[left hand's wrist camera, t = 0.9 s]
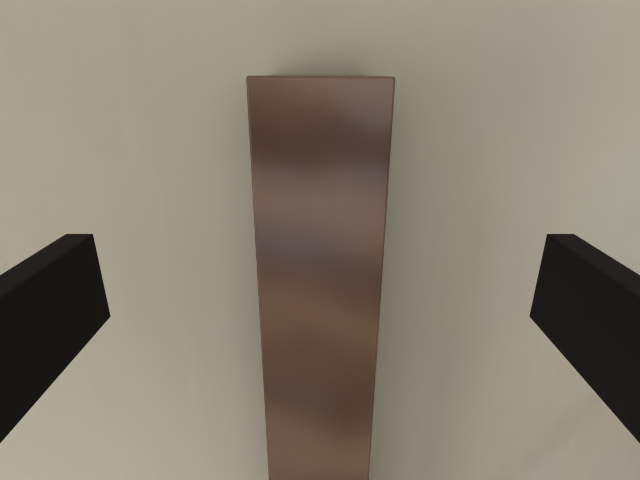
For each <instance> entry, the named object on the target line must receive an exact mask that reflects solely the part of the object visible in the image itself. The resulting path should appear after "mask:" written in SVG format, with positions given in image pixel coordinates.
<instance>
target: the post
mask: <svg viewBox="0 0 640 480" xmlns="http://www.w3.org/2000/svg"><path fill="white" fill-rule="evenodd" d="M246 82H247V100H248V118H249V135H250V153H251V171H252V188H253V206H254V224H255V241H256V259H257V276H258V294H259V312H260V329H261V347H262V365H263V382H264V400H265V418H266V435H267V453H268V470H269V480H368V478H369V463H370V448H371V433H372V418H373V403H374V388H375V373H376V358H377V343H378V328H379V313H380V298H381V283H382V268H383V253H384V238H385V223H386V208H387V193H388V178H389V163H390V148H391V133H392V118H393V103H394V88H395V77H386V76H307V75H264V76H247V78H246Z"/></svg>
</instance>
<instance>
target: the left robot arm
mask: <svg viewBox="0 0 640 480" xmlns="http://www.w3.org/2000/svg"><path fill="white" fill-rule="evenodd" d="M109 318H110V312H109V307H108V303H107V298H106V293H105V289H104V284H103V279H102V275H101V270H100V265H99V261H98V256H97V251H96V247H95V242H94V237H93V234H66V235H64V236H62V237H61V238H59V239H58V240H56V241H54V242H53V243H51V244H50V245H48V246H46V247H45V248H43V249H42V250H40V251H38V252H37V253H35V254H34V255H32V256H30V257H29V258H27V259H26V260H24V261H22V262H21V263H19V264H18V265H16V266H14V267H13V268H11V269H10V270H8V271H6V272H5V273H3V274H2V275H0V443H1V442H2V440H3V439H4V438H5V437H6V436H7V435H8V434H9V432H10V431H11V430H12V429H13V428H14V427H15V426H16V424H17V423H18V422H19V421H20V420H21V419H22V418H23V416H24V415H25V414H26V413H27V412H28V411H29V409H30V408H31V407H32V406H33V405H34V404H35V403H36V401H37V400H38V399H39V398H40V397H41V396H42V395H43V393H44V392H45V391H46V390H47V389H48V388H49V386H50V385H51V384H52V383H53V382H54V381H55V380H56V378H57V377H58V376H59V375H60V374H61V373H62V372H63V370H64V369H65V368H66V367H67V366H68V365H69V363H70V362H71V361H72V360H73V359H74V358H75V357H76V355H77V354H78V353H79V352H80V351H81V350H82V349H83V347H84V346H85V345H86V344H87V343H88V342H89V340H90V339H91V338H92V337H93V336H94V335H95V334H96V332H97V331H98V330H99V329H100V328H101V327H102V326H103V324H104V323H105V322H106V321H107V320H108V319H109ZM530 318H531V319H532V320H533V321H534V322H535V323H536V324H537V326H538V327H539V328H540V329H541V330H542V331H543V332H544V334H545V335H546V336H547V337H548V338H549V339H550V340H551V342H552V343H553V344H554V345H555V346H556V347H557V349H558V350H559V351H560V352H561V353H562V354H563V355H564V357H565V358H566V359H567V360H568V361H569V362H570V363H571V365H572V366H573V367H574V368H575V369H576V370H577V372H578V373H579V374H580V375H581V376H582V377H583V378H584V380H585V381H586V382H587V383H588V384H589V385H590V386H591V388H592V389H593V390H594V391H595V392H596V393H597V395H598V396H599V397H600V398H601V399H602V400H603V401H604V403H605V404H606V405H607V406H608V407H609V408H610V409H611V411H612V412H613V413H614V414H615V415H616V416H617V418H618V419H619V420H620V421H621V422H622V423H623V424H624V426H625V427H626V428H627V429H628V430H629V431H630V432H631V434H632V435H633V436H634V437H635V438H636V439H637V441H638V442H639V443H640V275H638V274H637V273H635V272H634V271H632V270H630V269H629V268H627V267H626V266H624V265H622V264H621V263H619V262H618V261H616V260H614V259H613V258H611V257H610V256H608V255H606V254H605V253H603V252H602V251H600V250H598V249H597V248H595V247H594V246H592V245H590V244H589V243H587V242H586V241H584V240H582V239H581V238H579V237H578V236H576V235H574V234H547V237H546V242H545V247H544V251H543V256H542V261H541V265H540V270H539V275H538V279H537V284H536V289H535V293H534V298H533V303H532V307H531V312H530Z"/></svg>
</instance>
